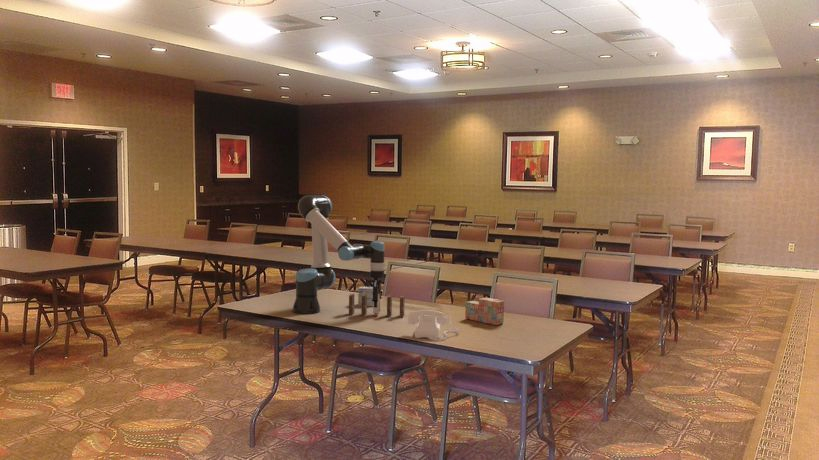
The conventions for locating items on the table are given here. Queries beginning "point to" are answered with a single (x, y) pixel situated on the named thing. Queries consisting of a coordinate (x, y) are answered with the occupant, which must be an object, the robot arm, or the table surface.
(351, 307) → the walnut domino
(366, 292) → the light bulb box
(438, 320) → the telephone
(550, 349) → the table surface
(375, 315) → the terracotta domino
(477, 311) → the stack of blocks
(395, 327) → the table surface
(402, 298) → the walnut domino
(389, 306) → the walnut domino
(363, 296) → the walnut domino
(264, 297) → the table surface
